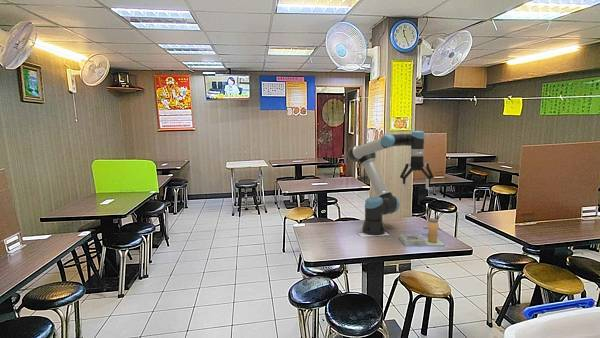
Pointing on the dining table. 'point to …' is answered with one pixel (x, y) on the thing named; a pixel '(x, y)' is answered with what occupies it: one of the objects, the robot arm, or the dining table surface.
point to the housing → (412, 240)
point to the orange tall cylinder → (432, 230)
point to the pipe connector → (428, 227)
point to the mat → (434, 243)
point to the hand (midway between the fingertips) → (416, 189)
